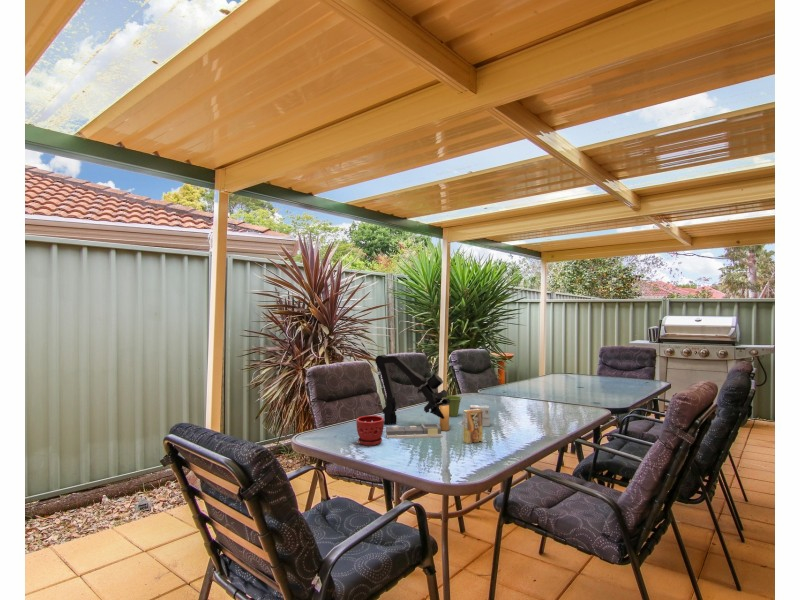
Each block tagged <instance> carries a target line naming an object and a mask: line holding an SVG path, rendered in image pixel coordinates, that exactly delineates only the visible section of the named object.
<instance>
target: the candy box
mask: <svg viewBox="0 0 800 600" xmlns="http://www.w3.org/2000/svg"><path fill="white" fill-rule="evenodd" d="M462 413H463V414H462V416H463V417H462V422H463V423H462V425H463V426H462V427H463V428H462V434H463V438H462V441H463V442H464V443H466V444H472V442H474V443H480V442H479V441H481V442H483V426H482V410H480V409H471V410H470V409H465V410H463V411H462Z"/></svg>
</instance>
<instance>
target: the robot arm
mask: <svg viewBox="0 0 800 600" xmlns="http://www.w3.org/2000/svg"><path fill="white" fill-rule="evenodd" d="M374 361H375V364H376V366H377V368H378V370H379V371H380V375H381V378H382V384H383V387H384V391H385V394H386V397H385V404H386V405H385V407H383V409H382V411H381V412H382V413H383V419H384V425H397V422H398V421H397V417H398V416H397V414H396V412H397V410H398V409H399V407H400V406H401V405H400V403H401V400H400V396H399V395H396V393H395V390H394V387H393V381H392V378H391V376H390V371H389V366H390V364H394V365H395V366H397V368H398V369H399V370H401V371H402V372H403V374H405V376H407V377H408V380H409V381H410V383H411V384H412V386H413V387H415V388H417V394H422V395H423V396H424V398H425V402H427V404H426V405H425V406H424V407H423V411H424V412H425V413H426V414H427V413H430V414H432V415H435V416H437V417H438V418H439V419H440V418H442V419H444V416H443V414H442V412H441V411H440V405H442V404H446V405H448V403H449V402H450V399H449V398H445V399H443V398H444V397H447V396H448V394H449V393H448V391H447V390H446V389H443V390H440V392H435V391H434V390H437V389H438V388H439V387H440V386H441V385H442V384H444V380H443V379H442V377H440V376H439V375H437V374H436V373H433V374H432V375H431V376H430V377H429V378H425V377H424V375H421V374H419V373H418V372H416V371H415V370H413V369H412V368H411V367H410V366H409V365H408V364H407V363H406V362H405V361H404V360H402V358H400V356H399V355H389V356H388V355H387V354H379V355H377V356H376V357H375V360H374ZM420 387H421V388H420ZM449 418H450V415H449Z"/></svg>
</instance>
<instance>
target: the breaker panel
mask: <svg viewBox="0 0 800 600" xmlns="http://www.w3.org/2000/svg"><path fill="white" fill-rule="evenodd" d="M384 433H386V434H385V436H387V437H386V439H387V438H396V439H419V438H420V439H422V438H423V439H424V438H426V439H427V438H428V439H429V438H442V437H443V434H442V430H441V427H440V424H438V423H421V424H420V426H419V425H418V426H417V425H410V426H395V425H394V426H388V427H385V431H384Z"/></svg>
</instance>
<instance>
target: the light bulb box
mask: <svg viewBox="0 0 800 600" xmlns="http://www.w3.org/2000/svg"><path fill="white" fill-rule="evenodd" d="M471 409H480V410H482V427H490V425H491V424H490V423H491V422H490V406H489V404H488V405H485V404H484V405H483V404H482V405H481V404H478V405H477V404H476V405H475V404H470V405H469V410H471Z"/></svg>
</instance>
